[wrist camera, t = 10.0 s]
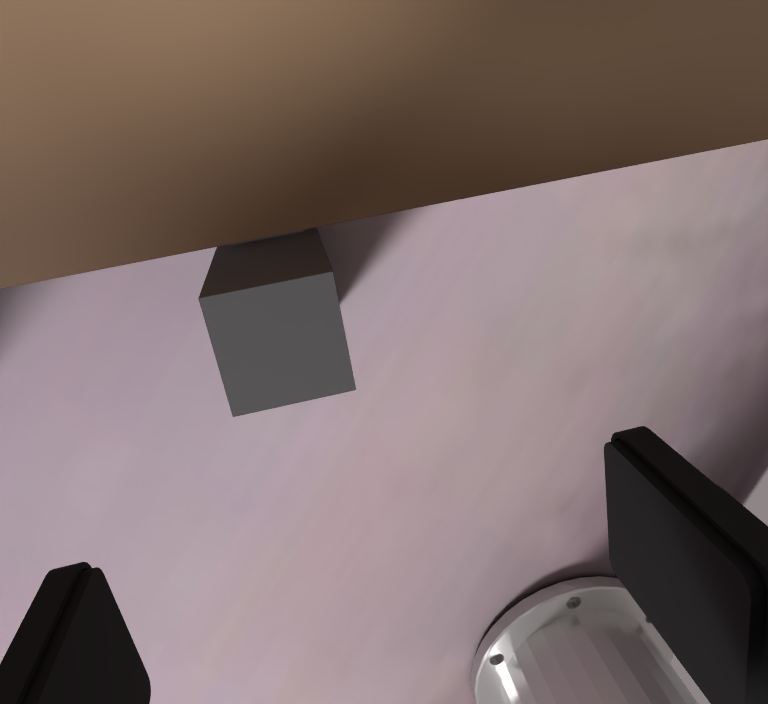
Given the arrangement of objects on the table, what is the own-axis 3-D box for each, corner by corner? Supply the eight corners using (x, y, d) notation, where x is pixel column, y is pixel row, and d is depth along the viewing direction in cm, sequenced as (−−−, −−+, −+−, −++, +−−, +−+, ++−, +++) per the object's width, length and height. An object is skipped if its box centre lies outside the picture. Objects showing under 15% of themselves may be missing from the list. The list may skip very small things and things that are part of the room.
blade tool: (332, 313, 27) (356, 389, 20) (242, 332, 27) (232, 417, 20) (217, -257, 20) (186, -470, 12) (89, -243, 19) (-20, -453, 12)
